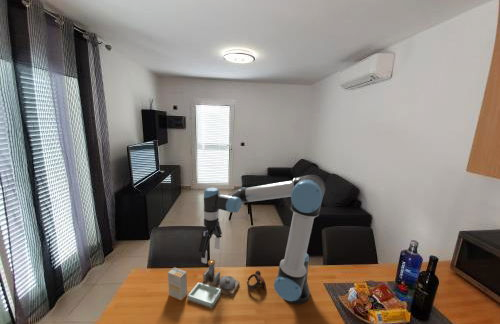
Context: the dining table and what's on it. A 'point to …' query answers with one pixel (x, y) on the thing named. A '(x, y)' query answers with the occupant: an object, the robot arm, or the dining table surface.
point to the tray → (204, 295)
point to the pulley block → (222, 283)
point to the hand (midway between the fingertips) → (211, 255)
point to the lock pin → (211, 269)
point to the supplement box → (177, 283)
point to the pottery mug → (258, 278)
